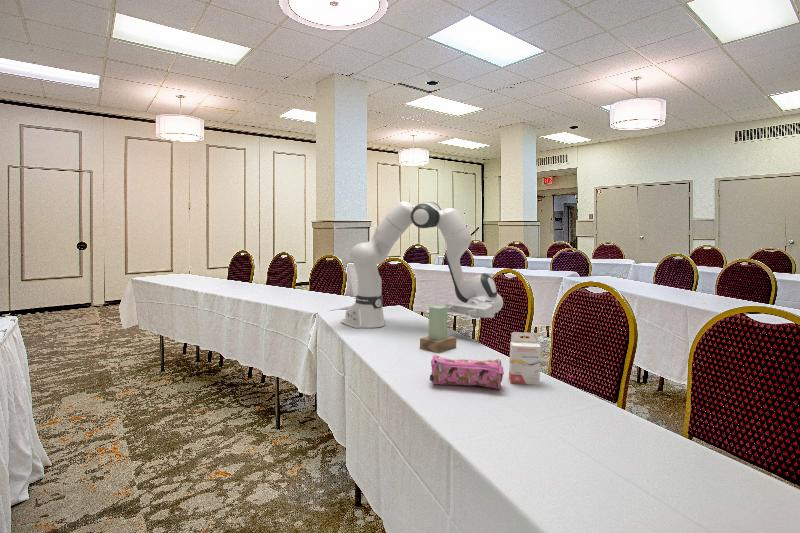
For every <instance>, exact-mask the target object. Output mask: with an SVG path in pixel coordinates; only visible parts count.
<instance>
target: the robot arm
mask: <svg viewBox="0 0 800 533" xmlns="http://www.w3.org/2000/svg"><path fill="white" fill-rule="evenodd" d="M412 224H413V225H414V227H417V228H418V229H429V228H435V227H436V228H437V229H439V231H440V232H441V234H442V237H443V239H444V240H445V244H446V245H445V246H446V249H445V252H444V253H445V259H446V260H445V261H446V264H447V266H448V270H449V273H450V277H451V279H452V282H453V287H454V293H455V296H456V299H458V300H459V301H451V302H450V301H449V302H447V303H446V302H445V307H448V313H454V314H460V315H465V316H470V317H471V318H473V319H481V318H485V319H487V318H488V319H493V318H494V317H495V314H496V313H499V312H500V311H501V310H502V308H503V306H504V301H503V300H504V299H503V297H502V296H501V295H500V294H499V293H498V287H497V284H496V281H495V279H494V278H493V277H492V276H491V275H490V274H488V273H481V274H478V275H475V276H472V277H470V278H468V279H466V278H465V275H464V271H463V268H462V265H461V258H462V256H463V254H464V253H465V252H467V250H468V249H469V247H470V246H471V243H472V234H471V232H470V230H469V228H468V226H467V224H466V222H465V220H464V219H463V217H462V215H461V214H460V213H459V211H458V210H457V209H456V208H453V207H447V208H444V209H442V208H441V207H440V206H439V204H437V203H436V202H434V201H425V202H422V203H419V204H417V205H413V204H412V203H411V202H409V201H407V200H402V201H400V202H398V203H397V204H395V206H393V207H392V209H390V211H389V212H388V213H387V214H386V215H385V216H384V217H383V218H382V220H381V221H380V222H379V224H377V226H376V227H375V230H374V231H375V232H374V234H373V236H372V237H371V239H370V240H368V241H367V242H366V241H365V242H359V243H358V244H356V245H354V246H353V247H352V248H351V250H350V252H349V258H350V261H351V263H353V265H354V267H355V268H354V269H355V272H356V273H355V274H356V276H357V295H355V296H353V299H355V302H354V303H353V304H352V305H350V307H349V308H347V310H346V312H345V316H344V317H345V318H344V319H341V320H340V322H341V323H340V324H343V323H344V324H343V325H345V324H346V326H349V327H351V328H354V329H361V328H362V329H363V328H364V329H371V328H372V329H373V328H380V327H384V326H385V325H386V323H385V322H386V320H385V319H384V308H383V301H384V300H383V299H384V298H383V295H382V290H383V289H382V282H383V281H382V276H380V272H379V269H378V268H379V267H378V265H380V264H382V263H384V262H385V261H386V260H387V258H388V256H389V254H390V251H392V249H393V247H394V245H395V244H396V242H397V241H398V240H399V239H400V237H401V236H402V235H403V234H404V233H405V231H407V229H408V228H409V227H410V226H411V225H412Z"/></svg>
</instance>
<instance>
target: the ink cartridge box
mask: <svg viewBox="0 0 800 533" xmlns="http://www.w3.org/2000/svg"><path fill="white" fill-rule="evenodd" d="M510 335H511V336H510V343H509V345H510V346H509V368H508V370H509V371H508V379H509V381H510V383H511V384H518V385H519V384H522V385H540V380H541V379H540V378H541V357H542V356H541V355H542V346H541V345H540V343H539V341H538V340H539V334H538V333H537V332H520V331H519V332H518V331H517V332H516V331H515V332H514V331H513V332H511V333H510ZM524 336H525V337H524ZM523 337H524V338H523ZM526 337H527V338H526Z"/></svg>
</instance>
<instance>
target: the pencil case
mask: <svg viewBox="0 0 800 533" xmlns="http://www.w3.org/2000/svg"><path fill="white" fill-rule="evenodd" d="M430 365H431V366H430V367H431V374H429V381H430V382H431V383H432V384H433V385H439V384H440V386H441V385H442V386H443V385H446V386H447V385H451V386H478V387H483V388H492V389H495V390H496V389H497V390H499V389H501V388H502V387H501V386H502V381H503V376H504V374H505V372H504V366H502V361H501V359H499V358H497V359H495V360H494V359H493V360H492V359H485V360H478V359H452V358H447V357H442V356H439V355H436V354H433V355H432V358H431V360H430Z"/></svg>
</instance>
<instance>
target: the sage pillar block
mask: <svg viewBox="0 0 800 533" xmlns="http://www.w3.org/2000/svg"><path fill="white" fill-rule="evenodd" d="M448 314H449V312H448V307H446V305H445V306H443V305H433V306H429V307H428V336H429V338H432V339H436V340H441V339H445V338H447V336H448V318H449V317H448Z"/></svg>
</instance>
